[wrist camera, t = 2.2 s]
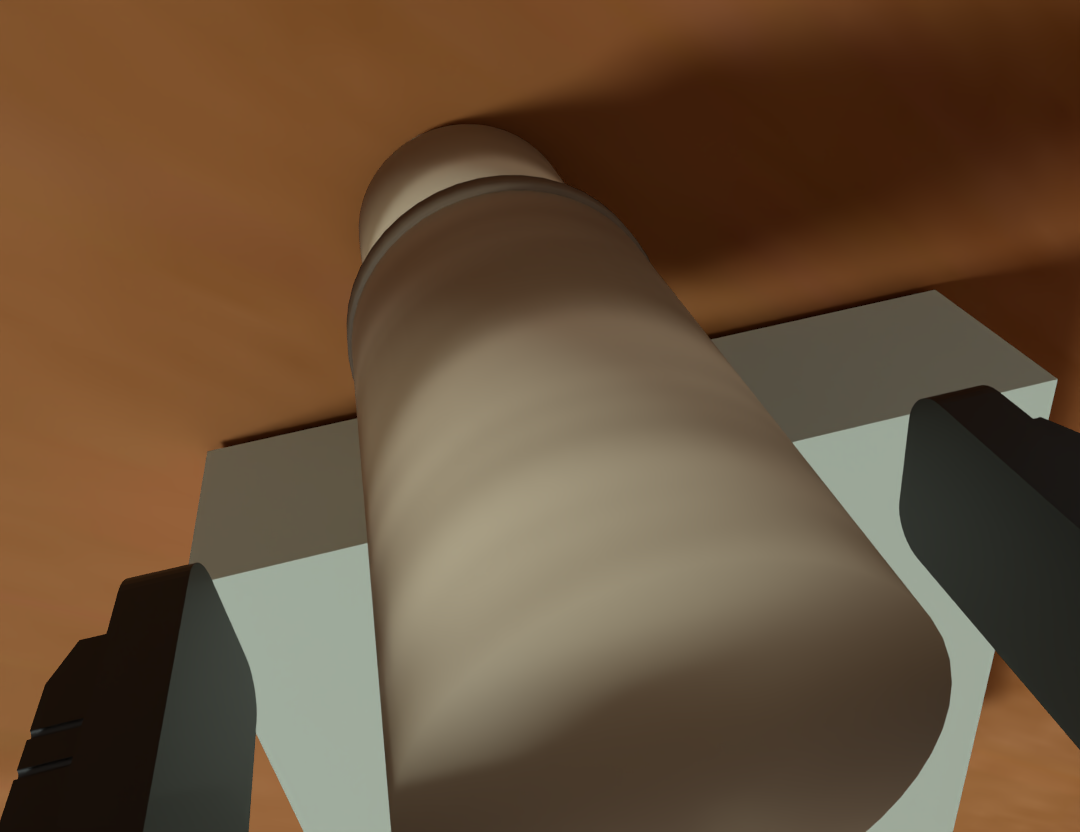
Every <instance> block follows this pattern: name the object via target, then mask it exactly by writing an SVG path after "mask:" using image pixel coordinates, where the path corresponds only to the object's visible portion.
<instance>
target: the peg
mask: <svg viewBox="0 0 1080 832" xmlns="http://www.w3.org/2000/svg"><path fill="white" fill-rule="evenodd" d="M359 242H360V250H361V258H362V265H361V267H360V270H359V272H358V275H357V277H356V279H355V282H354V284H353V288H352V292H351V296H350V300H349V304H348V314H347V341H348V354H349V362H350V367H351V371H352V376H353V379H354V384H355V397H356V409H357V421H358V433H359V446H360V458H361V470H362V482H363V494H364V507H365V519H366V531H367V543H368V556H369V568H370V580H371V592H372V605H373V617H374V629H375V641H376V653H377V666H378V678H379V690H380V702H381V715H382V727H383V739H384V751H385V764H386V776H387V788H388V800H389V812H390V825H391V832H866V831H867V830H869V829H870V828H871V827H872V826H873V825H874V824H875V823H876V822H877V821H879V820H880V819H881V818H882V817H883V816H884V815H885V814H886V813H887V811H888V810H889V809H890V808H891V807H892V806H893V805H894V804H895V803H896V802H897V801H898V800H899V799H900V798H901V797H902V795H903V794H904V793H905V791H906V790H907V789H908V788H909V786H910V785H911V784H912V782H913V781H914V780H915V779H916V777H917V776H918V775H919V773H920V771H921V770H922V768H923V767H924V765H925V763H926V762H927V760H928V758H929V757H930V755H931V754H932V752H933V750H934V747H935V745H936V743H937V741H938V739H939V736H940V734H941V732H942V730H943V727H944V723H945V720H946V716H947V713H948V709H949V705H950V696H951V687H952V677H951V666H950V658H949V655H948V652H947V649H946V646H945V643H944V639H943V637H942V636H941V634H940V632H939V630H938V629H937V627H936V625H935V624H934V622H933V620H932V619H931V617H930V616H929V615H928V613H927V612H926V611H925V610H924V608H923V607H922V606H921V605H920V603H919V602H918V601H917V600H916V598H915V597H914V596H913V595H912V593H911V592H910V591H909V589H908V588H907V587H906V586H905V584H904V583H903V582H902V581H901V579H900V578H899V577H898V576H897V574H896V573H895V572H894V571H893V569H892V568H891V567H890V565H889V564H888V563H887V562H886V560H885V559H884V558H883V557H882V555H881V554H880V553H879V552H878V550H877V549H876V548H875V547H874V545H873V544H872V543H871V541H870V540H869V539H868V538H867V536H866V535H865V534H864V533H863V531H862V530H861V529H860V528H859V526H858V525H857V524H856V523H855V521H854V520H853V519H852V517H851V516H850V515H849V514H848V512H847V511H846V510H845V509H844V507H843V506H842V505H841V504H840V502H839V501H838V500H837V499H836V497H835V496H834V495H833V493H832V492H831V491H830V490H829V488H828V487H827V486H826V485H825V483H824V482H823V481H822V480H821V478H820V477H819V476H818V474H817V473H816V472H815V471H814V469H813V468H812V467H811V466H810V464H809V463H808V462H807V461H806V459H805V458H804V457H803V456H802V454H801V453H800V452H799V450H798V449H797V448H796V447H795V445H794V444H793V443H792V442H791V440H790V439H789V438H788V437H787V435H786V434H785V433H784V432H783V430H782V429H781V428H780V426H779V425H778V424H777V423H776V421H775V420H774V419H773V418H772V416H771V415H770V414H769V413H768V411H767V410H766V409H765V408H764V406H763V405H762V404H761V402H760V401H759V400H758V399H757V397H756V396H755V395H754V394H753V392H752V391H751V390H750V389H749V387H748V386H747V385H746V384H745V382H744V381H743V380H742V378H741V377H740V376H739V375H738V373H737V372H736V371H735V370H734V368H733V367H732V366H731V365H730V363H729V362H728V361H727V360H726V358H725V357H724V356H723V354H722V353H721V352H720V351H719V349H718V348H717V347H716V346H715V344H714V343H713V342H712V341H711V339H710V338H709V337H708V336H707V334H706V333H705V332H704V330H703V329H702V328H701V327H700V325H699V324H698V323H697V322H696V320H695V319H694V318H693V317H692V315H691V314H690V313H689V312H688V310H687V309H686V308H685V306H684V305H683V304H682V303H681V301H680V300H679V299H678V298H677V296H676V295H675V294H674V293H673V291H672V290H671V289H670V288H669V286H668V285H667V284H666V282H665V281H664V280H663V279H662V277H661V276H660V275H659V274H658V272H657V271H656V270H655V269H654V267H653V266H652V265H651V263H650V261H649V259H648V257H647V255H646V254H645V252H644V251H643V249H642V248H641V246H640V244H639V243H638V241H637V240H636V239H635V238H634V236H633V235H632V234H631V233H630V231H629V230H628V229H627V228H626V227H625V225H624V224H623V223H622V222H621V221H620V220H619V219H618V218H617V216H616V215H615V214H614V213H612V212H611V211H610V210H609V209H608V208H606V207H605V206H604V205H603V204H602V203H600V202H599V201H597V200H596V199H594V198H593V197H591V196H589V195H588V194H586V193H584V192H583V191H580V190H578V189H576V188H574V187H571V186H569V185H567V184H565V183H564V182H563V181H562V179H561V178H560V176H559V175H558V174H557V172H556V171H555V170H554V168H553V167H552V165H551V164H550V163H549V162H548V160H547V159H546V158H545V157H544V156H543V155H542V154H541V153H540V152H539V151H538V150H537V149H536V148H534V147H533V146H532V145H531V144H530V143H528V142H526V141H525V140H523V139H522V138H520V137H518V136H516V135H514V134H512V133H510V132H507V131H505V130H502V129H498V128H495V127H491V126H485V125H478V124H459V125H450V126H445V127H441V128H437V129H433V130H431V131H428V132H426V133H423V134H421V135H419V136H417V137H415V138H414V139H412V140H410V141H408V142H407V143H405V144H404V145H403V146H401V147H400V148H399V149H397V150H396V151H395V152H394V153H393V154H392V155H391V156H390V157H389V158H388V159H387V160H386V161H385V162H384V163H383V164H382V166H381V167H380V168H379V170H378V171H377V172H376V174H375V175H374V177H373V179H372V181H371V183H370V184H369V186H368V189H367V191H366V194H365V196H364V199H363V203H362V207H361V211H360V219H359Z"/></svg>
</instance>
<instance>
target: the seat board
mask: <svg viewBox="0 0 1080 832" xmlns="http://www.w3.org/2000/svg"><path fill="white" fill-rule="evenodd" d="M711 341H712V342H713V343H714V344H715V346H716V347H717V348H718V349H719V351H720V352H721V353H722V354H723V356H724V357H725V358H726V360H727V361H728V362H729V363H730V365H731V366H732V367H733V368H734V370H735V371H736V372H737V373H738V375H739V376H740V377H741V378H742V380H743V381H744V382H745V384H746V385H747V386H748V387H749V389H750V390H751V391H752V392H753V394H754V395H755V396H756V397H757V399H758V400H759V401H760V402H761V404H762V405H763V406H764V408H765V409H766V410H767V411H768V413H769V414H770V415H771V416H772V418H773V419H774V420H775V421H776V423H777V424H778V425H779V426H780V428H781V429H782V430H783V432H784V433H785V434H786V435H787V437H788V438H789V439H790V440H791V442H792V443H793V444H794V445H795V447H796V448H797V449H798V450H799V452H800V453H801V454H802V456H803V457H804V458H805V459H806V461H807V462H808V463H809V464H810V466H811V467H812V468H813V469H814V471H815V472H816V473H817V474H818V476H819V477H820V478H821V480H822V481H823V482H824V483H825V485H826V486H827V487H828V488H829V490H830V491H831V492H832V493H833V495H834V496H835V497H836V499H837V500H838V501H839V502H840V504H841V505H842V506H843V507H844V509H845V510H846V511H847V512H848V514H849V515H850V516H851V517H852V519H853V520H854V521H855V523H856V524H857V525H858V526H859V528H860V529H861V530H862V531H863V533H864V534H865V535H866V536H867V538H868V539H869V540H870V541H871V543H872V544H873V545H874V547H875V548H876V549H877V550H878V552H879V553H880V554H881V555H882V557H883V558H884V559H885V560H886V562H887V563H888V564H889V565H890V567H891V568H892V569H893V571H894V572H895V573H896V574H897V576H898V577H899V578H900V579H901V581H902V582H903V583H904V584H905V586H906V587H907V588H908V589H909V591H910V592H911V593H912V595H913V596H914V597H915V598H916V600H917V601H918V602H919V603H920V605H921V606H922V607H923V608H924V610H925V611H926V612H927V613H928V615H929V616H930V617H931V619H932V620H933V622H934V624H935V625H936V627H937V629H938V630H939V632H940V634H941V636H942V637H943V639H944V643H945V646H946V649H947V652H948V655H949V658H950V666H951V677H952V687H951V696H950V705H949V709H948V713H947V716H946V720H945V723H944V727H943V730H942V732H941V734H940V736H939V739H938V741H937V743H936V745H935V747H934V750H933V752H932V754H931V755H930V757H929V758H928V760H927V762H926V763H925V765H924V767H923V768H922V770H921V771H920V773H919V775H918V776H917V777H916V779H915V780H914V781H913V782H912V784H911V785H910V786H909V788H908V789H907V790H906V791H905V793H904V794H903V795H902V797H901V798H900V799H899V800H898V801H897V802H896V803H895V804H894V805H893V806H892V807H891V808H890V809H889V810H888V811H887V813H886V814H885V815H884V816H883V817H882V818H881V819H880V820H879V821H877V822H876V823H875V824H874V825H873V826H872V827H871V828H870V829H869V830H867V831H866V832H953V829H954V825H955V820H956V816H957V812H958V807H959V803H960V799H961V794H962V790H963V786H964V781H965V777H966V773H967V769H968V764H969V760H970V756H971V751H972V747H973V743H974V738H975V734H976V730H977V725H978V721H979V717H980V712H981V708H982V704H983V700H984V695H985V691H986V687H987V682H988V678H989V674H990V669H991V665H992V661H993V656H994V652H995V649H994V648H993V647H992V646H991V645H990V643H989V642H988V641H987V640H986V639H985V638H984V636H983V635H982V634H981V633H980V632H979V630H978V629H977V628H976V627H975V626H974V625H973V623H972V622H971V621H970V620H969V619H968V618H967V616H966V615H965V614H964V613H963V612H962V610H961V609H960V608H959V607H958V606H957V605H956V603H955V602H954V601H953V600H952V599H951V598H950V596H949V595H948V594H947V593H946V592H945V590H944V589H943V588H942V587H941V586H940V585H939V583H938V582H937V581H936V580H935V579H934V578H933V576H932V575H931V574H930V573H929V572H928V570H927V569H926V568H925V567H924V566H923V565H922V563H921V562H920V561H919V560H918V559H917V557H916V556H915V555H914V553H913V552H912V550H911V548H910V546H909V544H908V543H907V540H906V538H905V535H904V532H903V529H902V526H901V521H900V515H899V500H900V491H901V483H902V474H903V466H904V457H905V449H906V440H907V432H908V423H909V416H910V412H911V409H912V407H913V405H914V404H915V403H916V402H917V401H918V400H920V399H922V398H927V397H931V396H936V395H940V394H944V393H949V392H953V391H957V390H962V389H966V388H970V387H975V386H980V385H987V386H990V387H993V388H994V389H996V390H997V391H999V392H1000V393H1001V394H1003V395H1004V396H1005V397H1006V398H1008V399H1009V400H1010V401H1011V402H1013V403H1014V404H1015V405H1017V406H1018V407H1019V408H1020V409H1022V410H1023V411H1024V412H1025V413H1027V414H1028V415H1029V416H1030V417H1032V418H1033V419H1034V418H1038V417H1042V418H1044V419H1047V420H1048V419H1049V415H1050V411H1051V406H1052V402H1053V398H1054V393H1055V389H1056V385H1057V380H1058V379H1057V378H1055V377H1054V376H1053V375H1051V374H1050V373H1049V372H1047V371H1046V370H1045V369H1043V368H1042V367H1040V366H1039V365H1038V364H1036V363H1035V362H1034V361H1032V360H1031V359H1029V358H1028V357H1027V356H1025V355H1024V354H1023V353H1021V352H1020V351H1019V350H1017V349H1016V348H1014V347H1013V346H1012V345H1010V344H1009V343H1008V342H1006V341H1005V340H1003V339H1002V338H1001V337H999V336H998V335H997V334H995V333H994V332H992V331H991V330H990V329H988V328H987V327H986V326H984V325H983V324H982V323H980V322H979V321H977V320H976V319H975V318H973V317H972V316H971V315H969V314H968V313H966V312H965V311H964V310H962V309H961V308H960V307H958V306H957V305H955V304H954V303H953V302H951V301H950V300H949V299H947V298H946V297H945V296H943V295H942V294H940V293H939V292H938V291H936V290H931V291H927V292H922V293H918V294H913V295H909V296H904V297H900V298H895V299H891V300H886V301H882V302H877V303H873V304H868V305H864V306H859V307H855V308H850V309H846V310H841V311H837V312H832V313H828V314H823V315H819V316H814V317H810V318H805V319H801V320H796V321H792V322H787V323H783V324H778V325H774V326H769V327H765V328H760V329H756V330H751V331H747V332H742V333H738V334H733V335H729V336H724V337H720V338H715V339H711ZM193 563H201V564H202V565H203V566H204V567H205V568H206V570H207V571H208V573H209V575H210V577H211V579H212V581H213V583H214V586H215V588H216V590H217V592H218V595H219V597H220V599H221V602H222V604H223V606H224V608H225V611H226V613H227V615H228V617H229V620H230V622H231V624H232V626H233V629H234V631H235V633H236V635H237V638H238V640H239V642H240V644H241V647H242V649H243V651H244V654H245V656H246V658H247V661H248V663H249V666H250V670H251V673H252V678H253V682H254V688H255V695H256V705H257V722H256V734H257V736H258V738H259V740H260V742H261V744H262V746H263V748H264V750H265V752H266V755H267V757H268V759H269V761H270V763H271V765H272V767H273V769H274V771H275V773H276V775H277V777H278V779H279V781H280V783H281V786H282V788H283V790H284V792H285V794H286V796H287V798H288V800H289V802H290V804H291V806H292V808H293V810H294V812H295V814H296V816H297V819H298V821H299V823H300V825H301V827H302V829H303V831H304V832H391V825H390V812H389V800H388V788H387V776H386V764H385V751H384V739H383V727H382V715H381V702H380V690H379V678H378V666H377V653H376V641H375V629H374V617H373V605H372V592H371V580H370V568H369V556H368V543H367V531H366V519H365V507H364V494H363V482H362V470H361V458H360V446H359V433H358V421H357V418H356V419H351V420H347V421H342V422H338V423H333V424H329V425H324V426H320V427H315V428H311V429H306V430H302V431H297V432H293V433H288V434H284V435H279V436H275V437H270V438H266V439H262V440H257V441H253V442H248V443H244V444H239V445H235V446H230V447H226V448H221V449H217V450H212V451H208V452H207V457H206V463H205V469H204V475H203V481H202V487H201V493H200V499H199V505H198V511H197V517H196V523H195V529H194V535H193V541H192V547H191V553H190V559H189V564H193Z"/></svg>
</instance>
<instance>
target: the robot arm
mask: <svg viewBox="0 0 1080 832" xmlns="http://www.w3.org/2000/svg"><path fill="white" fill-rule="evenodd" d="M899 515H900V521H901V526H902V529H903V532H904V535H905V538H906V540H907V543H908V544H909V546H910V548H911V550H912V552H913V553H914V555H915V556H916V557H917V559H918V560H919V561H920V562H921V563H922V565H923V566H924V567H925V568H926V569H927V570H928V572H929V573H930V574H931V575H932V576H933V578H934V579H935V580H936V581H937V582H938V583H939V585H940V586H941V587H942V588H943V589H944V590H945V592H946V593H947V594H948V595H949V596H950V598H951V599H952V600H953V601H954V602H955V603H956V605H957V606H958V607H959V608H960V609H961V610H962V612H963V613H964V614H965V615H966V616H967V618H968V619H969V620H970V621H971V622H972V623H973V625H974V626H975V627H976V628H977V629H978V630H979V632H980V633H981V634H982V635H983V636H984V638H985V639H986V640H987V641H988V642H989V643H990V645H991V646H992V647H993V648H994V649H995V650H996V652H997V653H998V654H999V655H1000V656H1001V658H1002V659H1003V660H1004V661H1005V662H1006V663H1007V665H1008V666H1009V667H1010V668H1011V669H1012V670H1013V672H1014V673H1015V674H1016V675H1017V676H1018V678H1019V679H1020V680H1021V681H1022V682H1023V683H1024V685H1025V686H1026V687H1027V688H1028V689H1029V690H1030V692H1031V693H1032V694H1033V695H1034V696H1035V698H1036V699H1037V700H1038V701H1039V702H1040V703H1041V705H1042V706H1043V707H1044V708H1045V709H1046V711H1047V712H1048V713H1049V714H1050V715H1051V716H1052V718H1053V719H1054V720H1055V721H1056V722H1057V723H1058V725H1059V726H1060V727H1061V728H1062V729H1063V731H1064V732H1065V733H1066V734H1067V735H1068V736H1069V738H1070V739H1071V740H1072V741H1073V742H1074V743H1075V745H1076V746H1077V747H1078V748H1079V749H1080V433H1078V432H1075V431H1073V430H1071V429H1068V428H1066V427H1063V426H1061V425H1059V424H1056V423H1054V422H1052V421H1049V420H1047V419H1044V418H1042V417H1038V418H1034V419H1033V418H1032V417H1030V416H1029V415H1028V414H1027V413H1025V412H1024V411H1023V410H1022V409H1020V408H1019V407H1018V406H1017V405H1015V404H1014V403H1013V402H1011V401H1010V400H1009V399H1008V398H1006V397H1005V396H1004V395H1003V394H1001V393H1000V392H999V391H997V390H996V389H994V388H993V387H990V386H987V385H980V386H975V387H970V388H966V389H962V390H957V391H953V392H949V393H944V394H940V395H936V396H931V397H927V398H922V399H920V400H918V401H917V402H916V403H915V404H914V405H913V407H912V409H911V412H910V416H909V423H908V432H907V440H906V449H905V457H904V466H903V474H902V483H901V491H900V500H899ZM256 722H257V705H256V695H255V688H254V682H253V678H252V673H251V670H250V666H249V663H248V661H247V658H246V656H245V654H244V651H243V649H242V647H241V644H240V642H239V640H238V638H237V635H236V633H235V631H234V629H233V626H232V624H231V622H230V620H229V617H228V615H227V613H226V611H225V608H224V606H223V604H222V602H221V599H220V597H219V595H218V592H217V590H216V588H215V586H214V583H213V581H212V579H211V577H210V575H209V573H208V571H207V570H206V568H205V567H204V566H203V565H202V564H201V563H193V564H188V565H184V566H180V567H175V568H171V569H167V570H162V571H158V572H153V573H149V574H145V575H140V576H136V577H132V578H128V579H125V580H124V581H123V582H122V584H121V585H120V588H119V591H118V594H117V598H116V601H115V605H114V609H113V612H112V616H111V620H110V623H109V627H108V630H107V634H104V635H100V636H96V637H91V638H87V639H83V640H79V642H78V643H77V644H76V645H75V647H74V648H73V649H72V651H71V652H70V653H69V655H68V656H67V657H66V658H65V660H64V661H63V662H62V664H61V665H60V666H59V667H58V669H57V670H56V671H55V673H54V674H53V675H52V677H51V678H50V679H49V680H48V682H47V683H46V684H45V687H44V690H43V693H42V696H41V699H40V702H39V705H38V708H37V711H36V714H35V717H34V720H33V723H32V726H31V729H30V732H31V739H30V740H27V742H26V745H25V748H24V751H23V754H22V757H21V760H20V763H19V766H18V769H17V771H18V779H17V780H14V781H13V784H12V787H11V790H10V793H9V796H8V799H7V802H6V805H5V808H4V811H3V814H2V817H1V820H0V832H248V831H249V818H250V804H251V790H252V777H253V763H254V749H255V736H256Z"/></svg>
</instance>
